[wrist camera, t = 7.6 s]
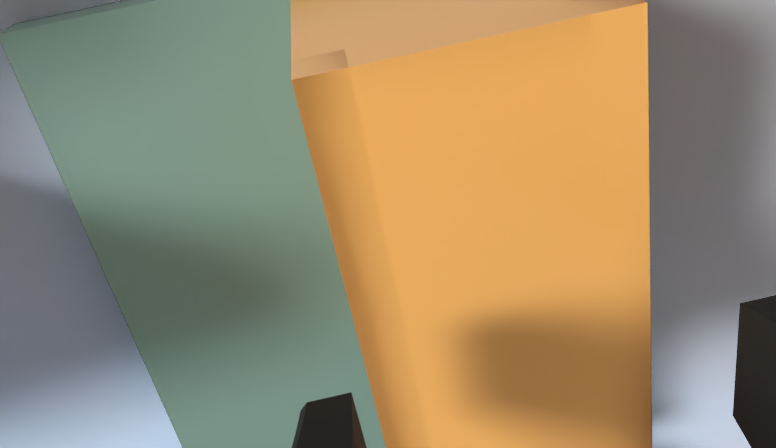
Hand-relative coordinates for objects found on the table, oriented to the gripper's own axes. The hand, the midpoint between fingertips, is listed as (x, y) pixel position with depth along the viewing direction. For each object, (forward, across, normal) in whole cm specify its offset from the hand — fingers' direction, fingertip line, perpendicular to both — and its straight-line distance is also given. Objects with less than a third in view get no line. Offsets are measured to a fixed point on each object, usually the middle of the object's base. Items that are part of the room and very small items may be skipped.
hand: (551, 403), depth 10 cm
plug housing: (+8, 0, +2) cm, 9 cm away
